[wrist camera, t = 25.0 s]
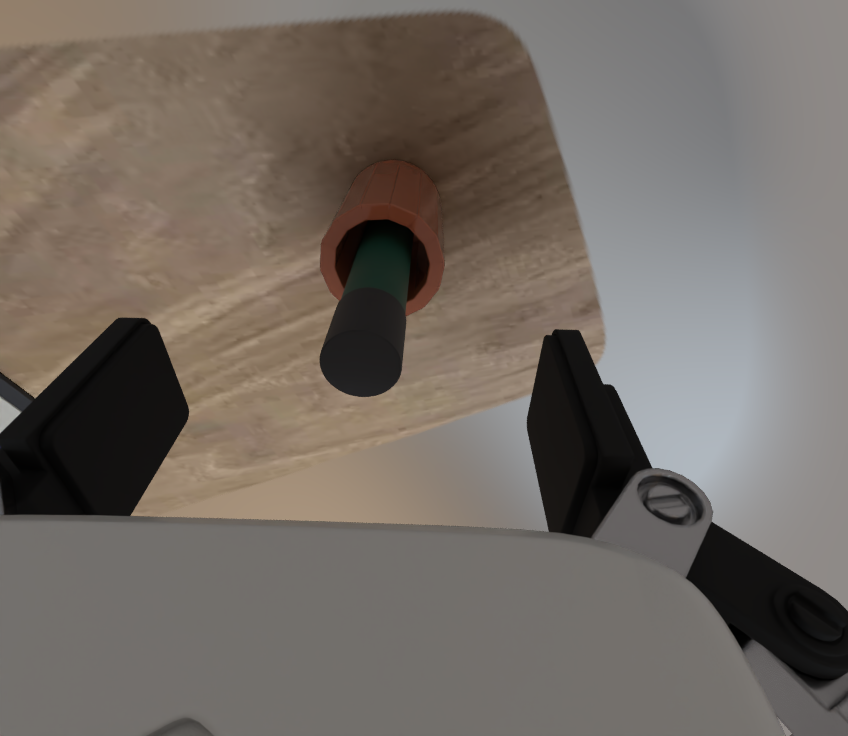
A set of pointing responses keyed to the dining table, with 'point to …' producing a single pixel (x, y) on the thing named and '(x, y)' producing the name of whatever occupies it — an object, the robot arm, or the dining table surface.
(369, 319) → the marker
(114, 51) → the dining table surface
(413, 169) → the pen pot
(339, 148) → the dining table surface
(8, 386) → the target board
